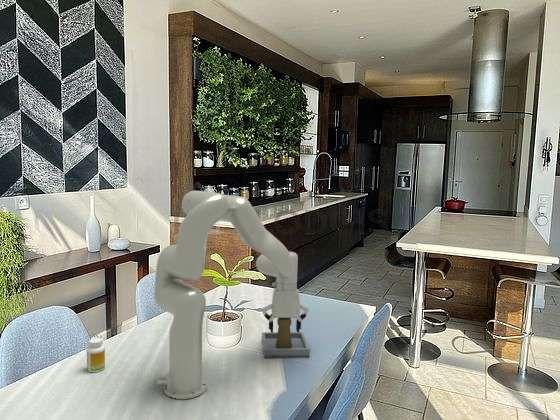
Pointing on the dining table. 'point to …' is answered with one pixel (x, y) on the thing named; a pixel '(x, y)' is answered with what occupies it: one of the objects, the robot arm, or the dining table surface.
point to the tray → (296, 351)
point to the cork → (284, 333)
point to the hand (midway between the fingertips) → (284, 331)
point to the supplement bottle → (95, 355)
